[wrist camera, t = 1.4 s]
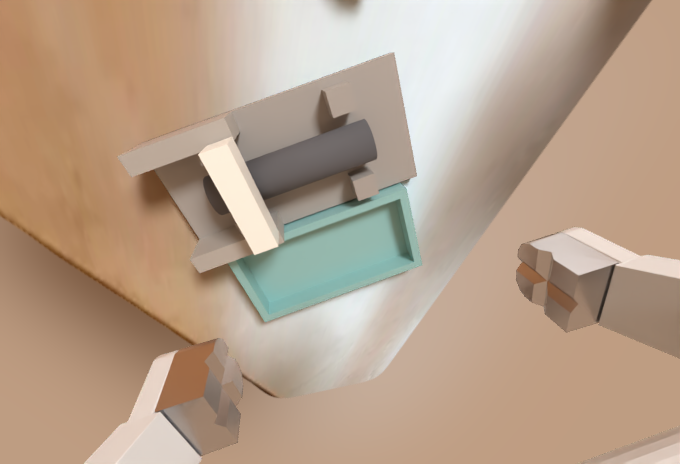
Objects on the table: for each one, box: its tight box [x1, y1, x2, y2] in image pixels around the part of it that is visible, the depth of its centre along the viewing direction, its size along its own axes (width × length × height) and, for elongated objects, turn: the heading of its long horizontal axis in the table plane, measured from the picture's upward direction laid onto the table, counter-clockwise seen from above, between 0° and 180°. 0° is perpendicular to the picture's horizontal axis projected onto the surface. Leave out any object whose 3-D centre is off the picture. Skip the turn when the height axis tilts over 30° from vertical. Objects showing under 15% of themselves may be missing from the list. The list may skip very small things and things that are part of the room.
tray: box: [228, 182, 422, 322], centre depth 32 cm, size 19×10×3 cm, turn 107°
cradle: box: [117, 53, 417, 273], centre depth 26 cm, size 22×11×5 cm, turn 107°
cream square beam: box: [198, 137, 279, 255], centre depth 23 cm, size 2×8×2 cm, turn 17°
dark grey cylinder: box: [203, 119, 377, 215], centre depth 26 cm, size 14×4×4 cm, turn 107°
